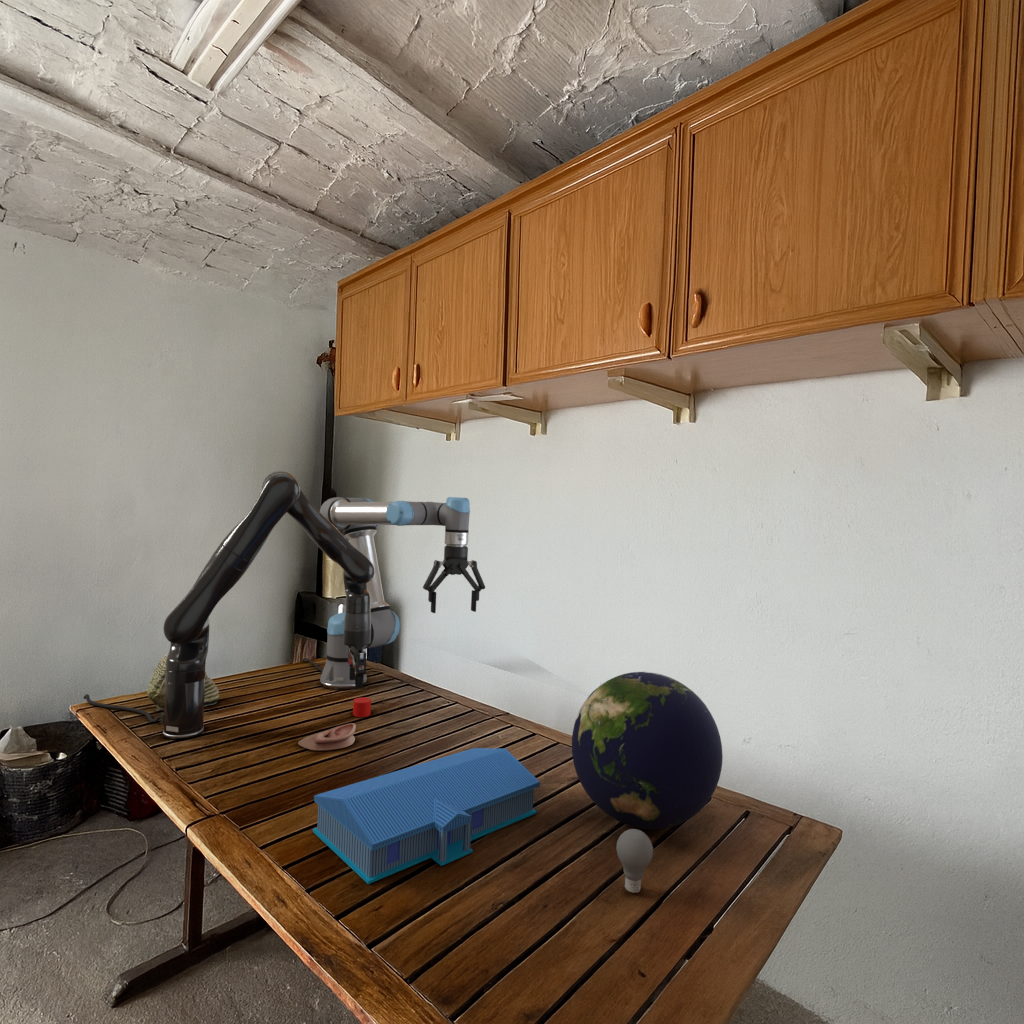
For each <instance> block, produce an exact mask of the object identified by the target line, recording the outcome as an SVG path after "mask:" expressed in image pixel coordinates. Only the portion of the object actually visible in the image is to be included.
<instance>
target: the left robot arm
mask: <svg viewBox="0 0 1024 1024" xmlns="http://www.w3.org/2000/svg"><path fill="white" fill-rule="evenodd" d="M286 514H288V515H289V516H290V517H292V519H294V520H295V521H296V522H297V524H298V525H299V526H300V527H301V528H302V529H303V530H304V532H305V533H306V534H307V536H308V537H309V538H310V539H311V540H312V541H313V543H314V544H315V545H316V546H317V547H318V548H319V550H321V551H322V552H323V553H324V554H325V555H326V557H328V558H329V559H330V560H331V561H332V562H334V563H335V564H336V563H337V564H338V566H340V567H341V569H342V570H343V571H342V575H343V576H342V579H343V585H344V586H343V587H344V593H345V608H344V609H345V610H344V612H345V618H344V644H345V645H347V646H348V663H349V667H350V673H349V679H350V680H355V688H354V689H363V688H364V686H363V681H364V674H366V675H367V652H366V651H365V650H364V649H363V646H365V645H369V644H370V642H371V612H370V611H371V596H370V593H369V592H368V590H367V583H368V582H369V581H371V580H372V579H373V577H374V574H375V569H374V566H373V564H372V563H371V561H370V560H369V559H368V558H367V557H366V556H364V555H363V554H362V553H361V552H360V551H358V550H357V549H356V548H355V547H354V546H352V545H351V543H350V541H349V540H348V539H347V538H345V536H344V534H343V533H342V532H341V530H338V529H337V528H336V527H335V526H334V525H333V524H332V523H330V522H329V521H328V520H327V519H326V518H325V517H324V516H323V515H322V514H321V513H320V510H318V509H317V508H316V506H315V505H314V504H312V502H311V501H310V500H309V498H307V496H306V495H305V493H304V492H303V491H302V489H301V487H300V484H299V482H298V480H297V479H296V478H295V476H293V475H292V474H291V473H289V472H287V471H284V470H274V471H271V472H270V473H268V474H267V475H266V476H265V477H264V479H263V481H262V484H261V492H260V494H259V495H258V497H257V499H256V500H255V502H254V504H253V505H252V507H251V509H250V510H249V512H248V513H247V514H246V515H245V516H244V517H243V518H242V519H241V520H240V521H238V522H239V523H237V524H236V525H235V526H234V527H233V528H232V529H231V530H230V531H229V532H228V533H227V534H226V536H225V537H224V538H223V539H222V540H221V541H220V543H219V545H218V546H217V547H216V549H215V550H214V552H213V553H212V555H211V556H210V558H209V560H208V561H207V563H206V564H205V565H204V567H203V569H202V570H201V572H200V574H199V575H198V577H197V579H196V580H195V582H194V584H193V586H192V587H191V589H189V591H188V592H187V593H186V595H185V596H184V597H183V598H182V600H180V602H179V603H178V604H177V605H176V606H175V607H174V608H173V610H171V612H170V613H169V614H168V615H167V616H166V618H165V620H164V622H163V628H162V629H163V634H164V637H165V639H166V640H167V641H168V642H170V646H169V650H168V654H167V655H168V656H167V659H166V674H165V705H164V710H163V711H162V712H160V715H158V716H157V717H156V718H153V717H152V715H151V713H149V712H147V711H145V710H143V709H139V708H135V707H131V706H122V705H113V704H107V703H101V702H97V701H93V700H92V699H91V698H90V695H89V694H88V693H86V694H84V695H83V700H85V701H86V702H87V703H88V704H90V705H92V706H95V707H100V708H105V709H112V710H120V711H126V712H132V713H137V714H140V715H143V716H145V717H146V718H147V719H148V721H149V723H153V724H154V723H158V722H159V721H160V724H161V725H163V730H162V737H164V738H166V739H169V740H185V739H190V738H191V739H192V738H194V737H197V736H199V735H202V734H203V732H204V730H205V729H204V726H205V725H204V722H205V721H204V718H205V706H204V693H205V672H206V664H207V663H206V662H207V656H208V653H209V644H210V643H209V642H210V615H211V614H212V612H213V611H214V609H215V608H216V606H217V605H218V603H219V602H220V601H221V600H222V599H223V598H224V597H225V595H227V593H228V592H229V591H230V590H231V589H233V588H234V586H236V584H237V583H238V582H239V581H240V580H241V578H242V577H243V576H244V575H245V573H246V572H247V571H248V569H249V568H250V566H251V565H252V564H253V562H254V561H255V560H256V558H257V556H258V554H259V553H260V551H261V550H262V548H263V547H264V545H265V543H266V541H267V540H268V538H269V536H270V535H271V533H272V531H274V528H275V527H276V525H278V524H279V522H280V521H281V520H282V519H283V517H284V516H285V515H286ZM360 667H361V668H362V670H359V668H360ZM96 702H97V703H96Z"/></svg>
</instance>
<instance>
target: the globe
mask: <svg viewBox="0 0 1024 1024" xmlns="http://www.w3.org/2000/svg"><path fill="white" fill-rule="evenodd" d="M571 735H572V736H571V754H572V761H573V766H574V770H575V773H576V776H577V779H578V780H579V782H580V784H581V786H582V789H583V790H584V791H585V793H586V794H587V796H588V797H589V798H590V800H591V801H592V802H593V803H594V804H595V805H596V807H598V808H599V810H601V811H602V812H603V813H605V814H606V815H607V816H609V817H610V818H612V819H613V820H615V821H617V822H619V823H621V824H624V825H626V826H629V827H632V828H635V829H639V830H652V831H653V830H665V829H669V828H672V827H673V828H674V827H676V826H679V825H681V824H683V823H685V822H687V821H689V820H690V819H692V818H693V817H695V816H696V815H697V814H698V813H700V812H701V811H702V809H703V808H704V807H705V806H707V804H708V802H709V801H710V800H711V798H712V797H713V795H714V793H715V791H716V789H717V787H718V784H719V781H720V778H721V774H722V769H723V768H722V767H723V756H724V755H723V744H722V739H721V734H720V731H719V728H718V726H717V723H716V720H715V719H714V717H713V714H712V713H711V711H710V710H709V708H708V706H707V705H706V703H705V702H704V701H703V700H702V699H701V698H700V696H699V695H697V694H696V692H694V691H693V689H690V688H689V687H688V686H686V685H685V684H684V683H682V682H680V681H679V680H676V679H675V678H672V677H670V676H668V675H664V674H662V673H657V672H653V671H633V672H627V673H623V674H619V675H616V676H614V677H612V678H610V679H608V680H606V681H605V682H603V683H601V684H600V685H599V686H597V687H596V688H595V689H594V690H592V692H591V693H590V694H589V695H588V697H587V698H586V699H585V701H584V702H583V704H582V705H581V707H580V709H579V710H578V713H577V716H576V718H575V721H574V724H573V729H572V734H571Z"/></svg>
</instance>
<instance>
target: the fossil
mask: <svg viewBox="0 0 1024 1024" xmlns="http://www.w3.org/2000/svg"><path fill="white" fill-rule="evenodd" d="M167 656H168V654H165V655H164V656H163V657H162V658H161V659H160V660H159V662H158V663H157V666H156V667H155V669H154V670H153V672H152V675H151V677H150V680H149V684H148V688H147V697H148V699H149V700H150V701H152V703H153V704H154V706H155V711H158V712H159V711H162V712H163V711H164V705H165V674H166V659H167ZM220 698H221V696H220V690H219V688H218V686H217V685H216V683H215V682H214V681H213V679H212V678H211V677H209V675H208V674H207V672H206V671H205V693H204V707H207V706H213V705H215V704H217V703H218V701H219V699H220Z"/></svg>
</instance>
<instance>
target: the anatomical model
mask: <svg viewBox="0 0 1024 1024" xmlns="http://www.w3.org/2000/svg"><path fill="white" fill-rule="evenodd" d="M356 725H357V724H356V723H352V722H350V723H346V724H342V725H339V726H336V727H333V728H329V729H326V730H324V731H320V732H317V733H313V734H311V735H308V736H306V737H304V738H302V739H300V740H298V742H297V745H299V746H300V747H302V748H304V749H306V750H309V751H332V750H339V749H344V748H347V747H350V746H351V745H353V744H354V743H355V740H356V737H355V735H354V734H355V731H356V727H357V726H356Z"/></svg>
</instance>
